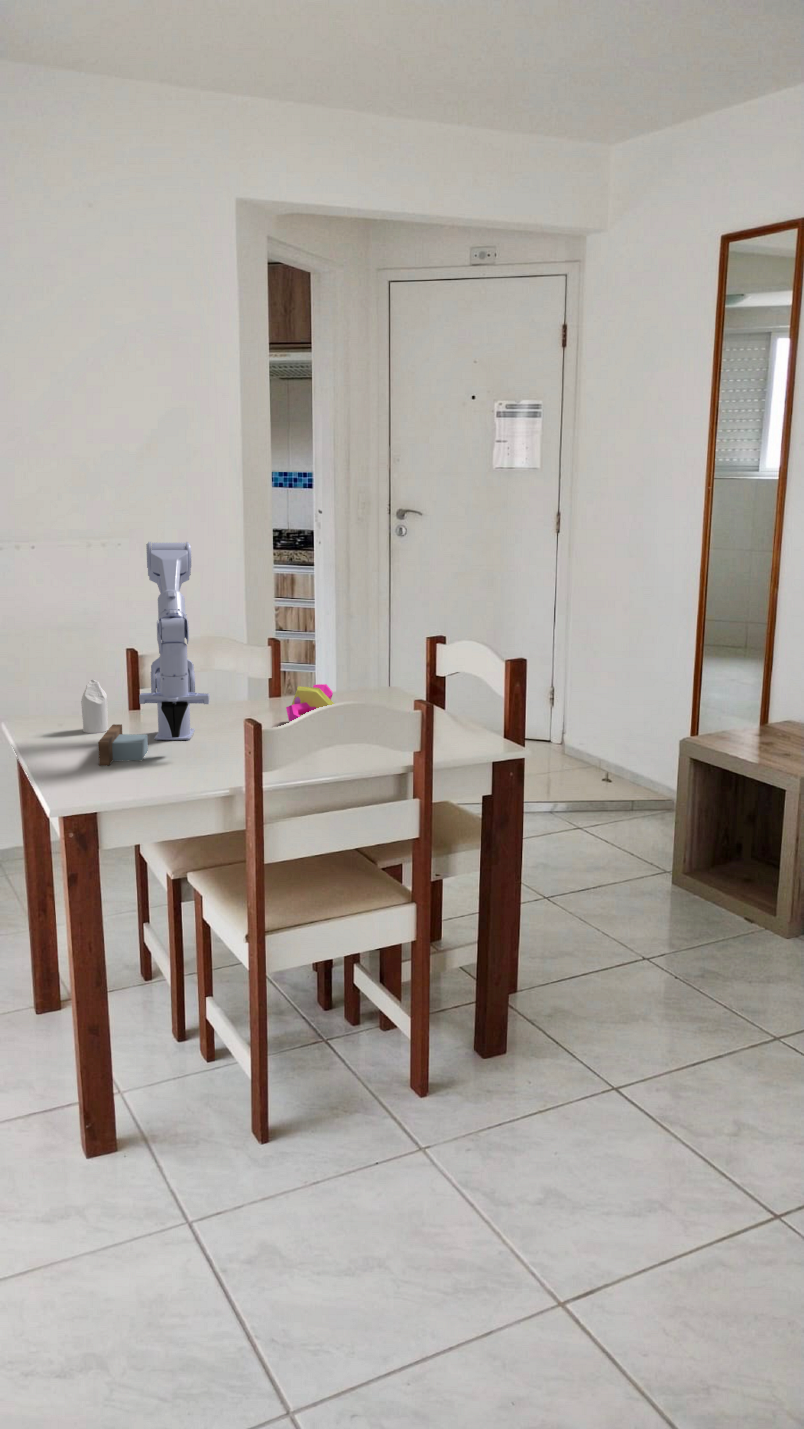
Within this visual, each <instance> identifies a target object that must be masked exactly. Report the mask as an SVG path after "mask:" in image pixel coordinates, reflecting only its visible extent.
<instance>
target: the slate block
mask: <svg viewBox="0 0 804 1429" xmlns="http://www.w3.org/2000/svg"><path fill="white" fill-rule="evenodd" d="M148 742H149V740H148V734H145V733H144V734H125V733H124V734H123V733H122V734H119V735H118V737H117V738H116V739H115V740H114V742H113V743H112V752H113V761H114V762H115V761H116V762H117V761H118V762H119V761H122V760H123V762H125V761H124V760H142V759H144V758H145V757H146V755H147V754H146V753H148V752H149V743H148ZM147 751H148V752H147ZM145 754H146V755H145ZM144 756H145V757H144ZM143 757H144V758H143ZM113 761H112V762H113ZM142 761H143V760H142Z"/></svg>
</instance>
